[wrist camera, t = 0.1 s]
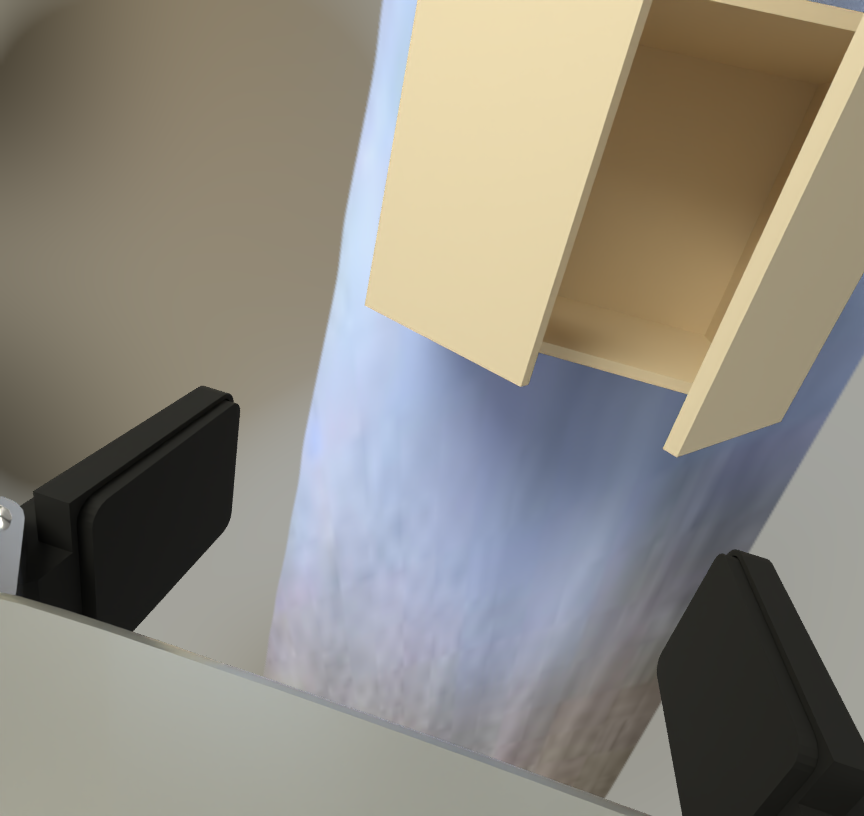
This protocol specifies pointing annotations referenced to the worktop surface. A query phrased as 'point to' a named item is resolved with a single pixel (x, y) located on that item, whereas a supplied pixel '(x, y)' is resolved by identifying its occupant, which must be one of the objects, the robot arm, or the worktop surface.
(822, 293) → the raised flap
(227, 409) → the robot arm
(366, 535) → the worktop surface
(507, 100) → the low flap
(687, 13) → the carton
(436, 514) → the worktop surface
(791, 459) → the worktop surface
